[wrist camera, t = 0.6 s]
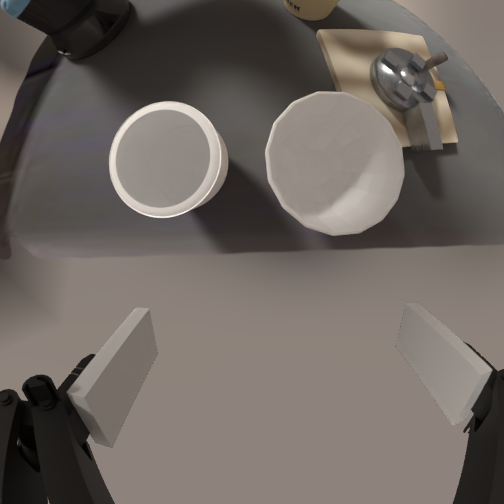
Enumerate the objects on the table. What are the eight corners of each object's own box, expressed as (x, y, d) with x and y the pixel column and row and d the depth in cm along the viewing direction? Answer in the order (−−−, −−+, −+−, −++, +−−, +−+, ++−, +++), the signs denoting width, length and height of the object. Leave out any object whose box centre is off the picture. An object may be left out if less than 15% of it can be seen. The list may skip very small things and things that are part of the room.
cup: (244, 187, 36) (236, 191, 20) (284, 114, 33) (307, 65, 17) (318, 227, 37) (365, 261, 21) (356, 156, 35) (423, 143, 18)
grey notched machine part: (360, 53, 29) (373, 40, 24) (412, 56, 28) (428, 46, 23) (391, 155, 32) (409, 152, 28) (440, 149, 32) (460, 147, 27)
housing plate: (315, 35, 30) (326, 12, 23) (418, 40, 29) (438, 26, 22) (354, 157, 35) (375, 152, 28) (453, 145, 34) (479, 143, 27)
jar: (249, 158, 35) (247, 142, 21) (204, 219, 37) (174, 242, 23) (188, 117, 34) (151, 81, 19) (146, 176, 36) (89, 176, 21)
